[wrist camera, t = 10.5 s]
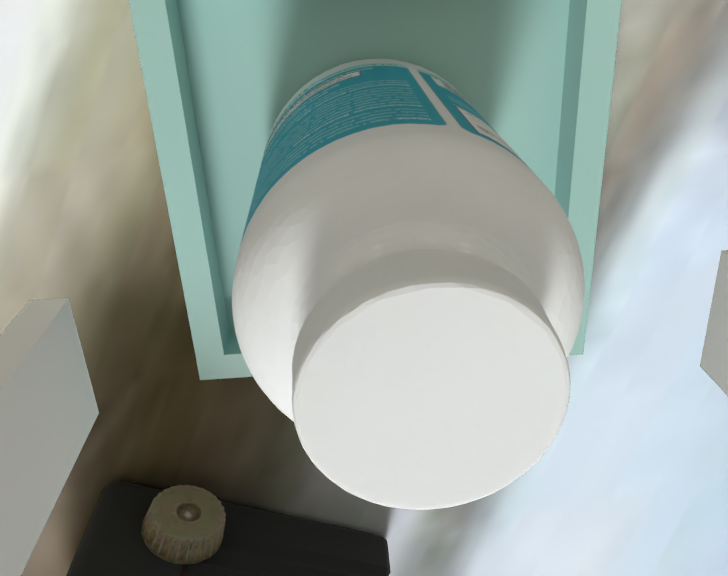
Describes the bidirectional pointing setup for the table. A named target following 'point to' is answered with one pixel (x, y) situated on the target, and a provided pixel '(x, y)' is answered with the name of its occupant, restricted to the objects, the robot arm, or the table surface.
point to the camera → (214, 539)
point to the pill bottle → (406, 289)
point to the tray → (343, 45)
